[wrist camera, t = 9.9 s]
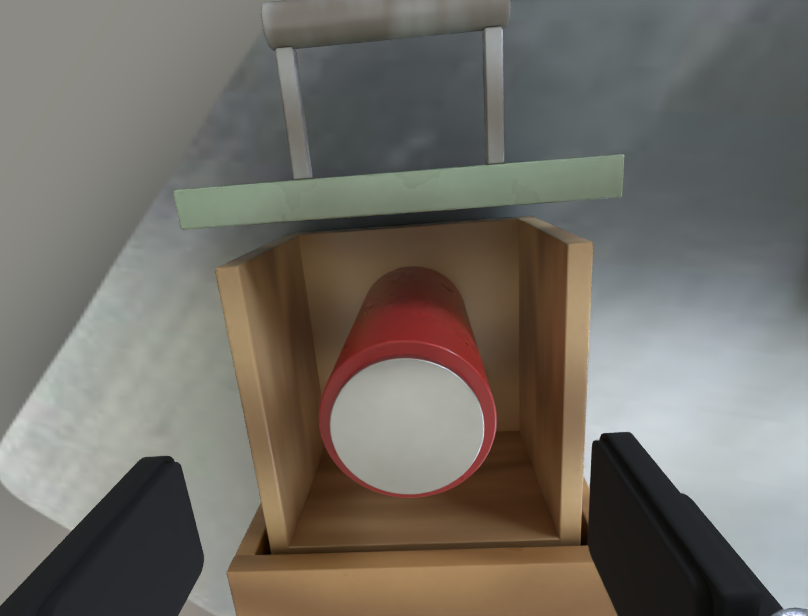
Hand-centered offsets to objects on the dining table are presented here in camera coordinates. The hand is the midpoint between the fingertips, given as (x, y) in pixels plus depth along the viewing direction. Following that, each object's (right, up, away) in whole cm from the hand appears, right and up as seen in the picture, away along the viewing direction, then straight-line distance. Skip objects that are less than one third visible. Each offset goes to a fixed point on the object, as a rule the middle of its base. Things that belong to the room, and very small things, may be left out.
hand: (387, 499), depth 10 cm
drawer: (+1, +7, +13) cm, 14 cm away
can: (+1, +4, +12) cm, 13 cm away
